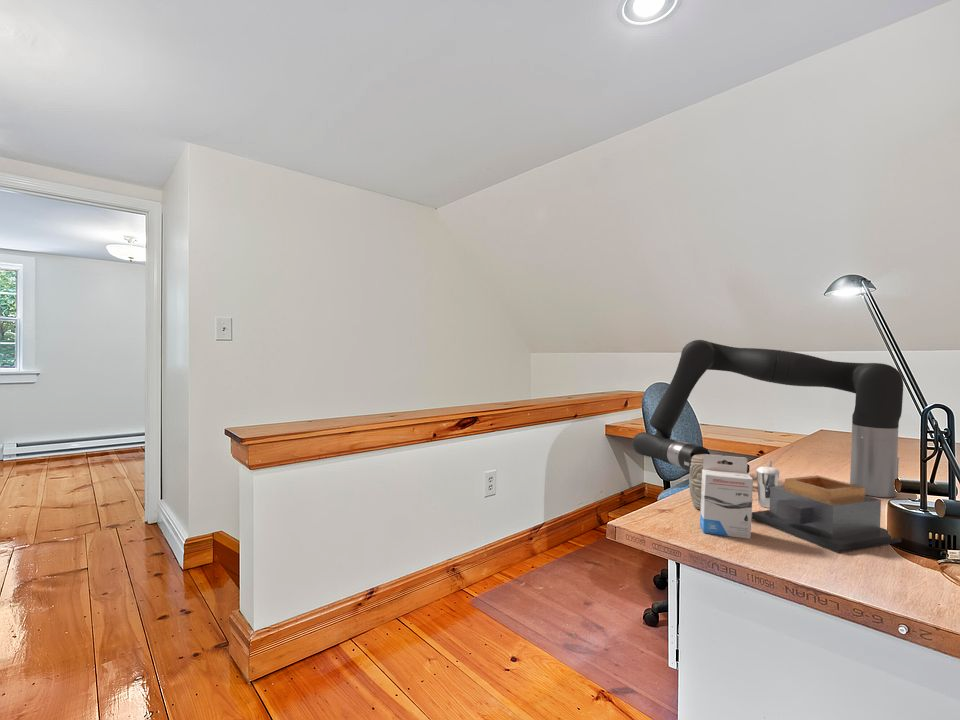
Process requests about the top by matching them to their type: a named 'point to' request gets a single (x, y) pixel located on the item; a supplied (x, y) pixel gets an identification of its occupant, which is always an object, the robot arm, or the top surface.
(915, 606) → the top surface
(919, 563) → the top surface
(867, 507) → the stepped frame block
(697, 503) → the carving
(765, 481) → the milkshake
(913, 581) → the top surface
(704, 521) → the ink box
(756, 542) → the top surface
